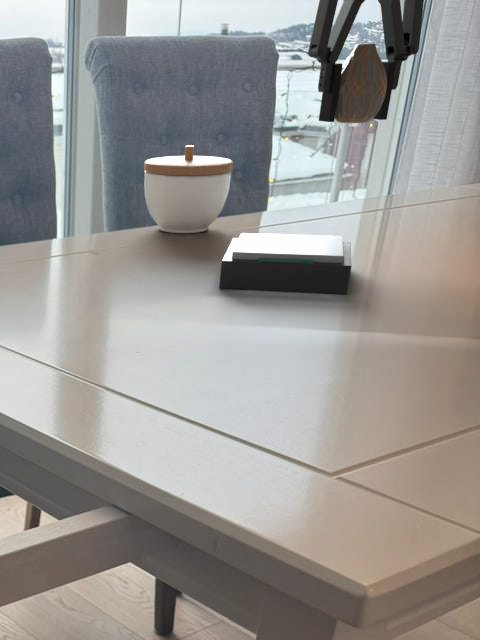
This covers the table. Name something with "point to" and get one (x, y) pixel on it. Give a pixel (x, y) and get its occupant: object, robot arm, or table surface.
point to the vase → (361, 86)
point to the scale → (287, 263)
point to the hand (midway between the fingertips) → (352, 119)
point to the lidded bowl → (186, 190)
